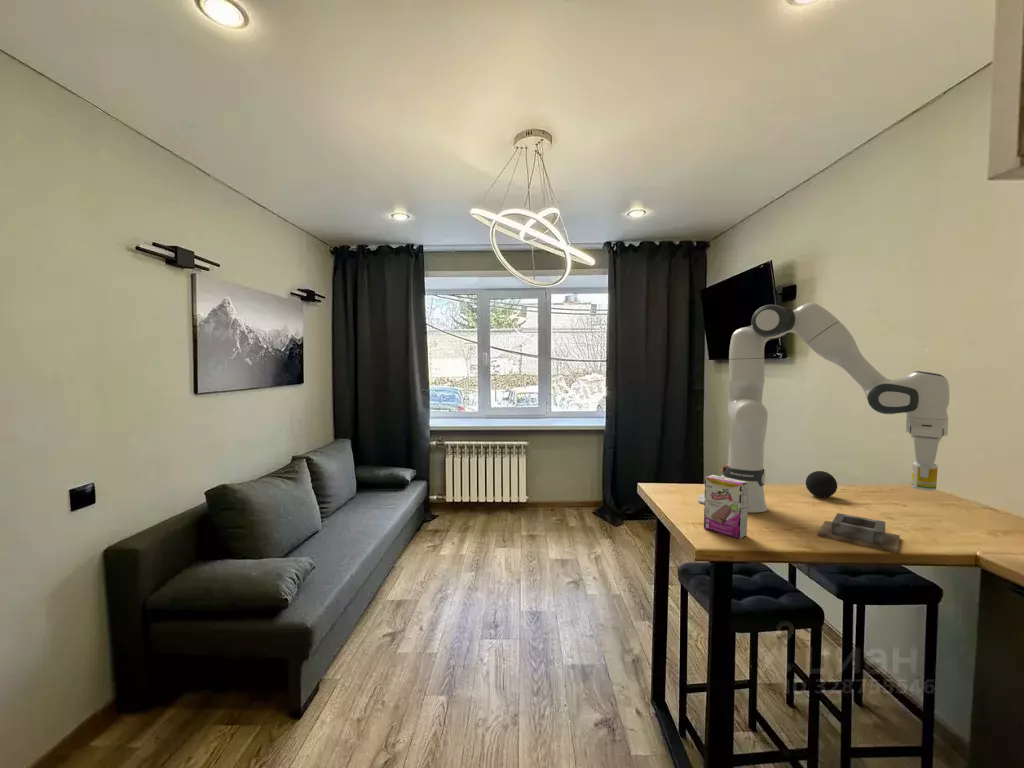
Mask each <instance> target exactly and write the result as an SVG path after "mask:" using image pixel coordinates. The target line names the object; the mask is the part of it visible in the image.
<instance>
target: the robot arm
mask: <svg viewBox="0 0 1024 768" xmlns="http://www.w3.org/2000/svg"><path fill="white" fill-rule="evenodd" d="M750 323H751V325H748V326H745V327H740V328H738V329H735V331H734V332H733V333H732V335H731V338H730V344H729V350H728V353H729V354H728V376H729V377H728V378H729V379H728V380H729V381H728V394H727V395H728V398H727V399H728V401H727V415H728V418H729V420H730V432H729V441H728V463H726V464H724V465H723V467H722V468H721V472H722V475H721V476H722V477H726V478H731V479H736V480H741V481H745V482H748V510H747V511H748V512H747V513H763V512H766V511H768V506H767V502H766V498H765V491H764V486H765V481H766V480H765V479H766V478H765V477H766V473H765V469H764V456H765V455H764V451H765V450H764V449H765V443H766V442H765V441H766V435H767V425H768V417H769V416H768V411H767V408H766V406H765V405H764V404H763V392H764V391H763V390H764V386H765V385H764V384H765V346H766V343H767V342H770V341H773V340H776V339H779V338H783V337H784V336H785V337H786V336H787V335H788V334H789V333H793V334H795V335H797V336H798V337H799V338H800V339H801V340H802V341H803V342H804V343H805V344H806V345H807V347H809V348H810V349H811V350H812V351H813V352H815V353H816V354H817V355H818V356H820V357H821V358H823V359H824V360H826V361H829V362H830V363H832V364H835V365H837V366H839V367H840V368H842V370H844V371H846V373H847V374H848V375H850V377H852V379H853V380H854V381H855V382H856V383H857V384H858V385H859V386H860V387H861V388H862V389H863V391H864V393H865V396H866V399H867V402H868V405H869V406H870V408H872V409H873V410H874V411H876V412H877V413H879V414H882V415H895V414H903V413H905V414H906V422H905V424H906V425H905V433H908V434H910V438H911V439H913V440H912V441H913V445H914V446H913V448H914V449H913V450H914V456H915V462H917V463H918V464H920V477H923V478H928V477H929V468H930V465H933V464H935V462H936V457H937V453H938V447H939V443H940V442H941V441H942V438H943V437H945V436H948V433H949V432H948V430H949V416H948V411H947V410H948V407H949V405H950V384H949V380H948V379H947V378H946V376H945V375H942V374H939V373H935V372H928V371H921V370H916V371H912V372H911V373H909V374H907V375H903V376H901V377H899V378H896V379H892V380H891V379H888V378H887V377H885V376H883V374H881V373H880V372H879V371H878V370H877V369H876V368H875V367H874V366H873V365H872V364H871V363H870V362H869V361H868V360H867V359H866V357H864V356H863V354H862V352H860V349H859V347H858V345H857V343H856V340H855V339H854V336H853V335H852V334H851V332H850V331H849V330H848V328H847V327H846V325H844V323H842V322H841V321H840V320H839V318H837V317H836V316H835V315H834V314H832V313H831V312H830V311H828V310H827V309H825V308H824V307H823V306H821V305H819V304H818V303H815V302H808V303H805V304H802V305H800V306H799V307H797V308H795V309H792V308H789V307H785V306H781V305H778V304H765V305H763V306H761V307H759V308H758V309H756V310H755V312H754V313H753V314H752V317H751V322H750ZM697 501H698V503H700V504H703V505H704V503H705V493H703V494H700V495H699V496H698V498H697Z"/></svg>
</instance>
